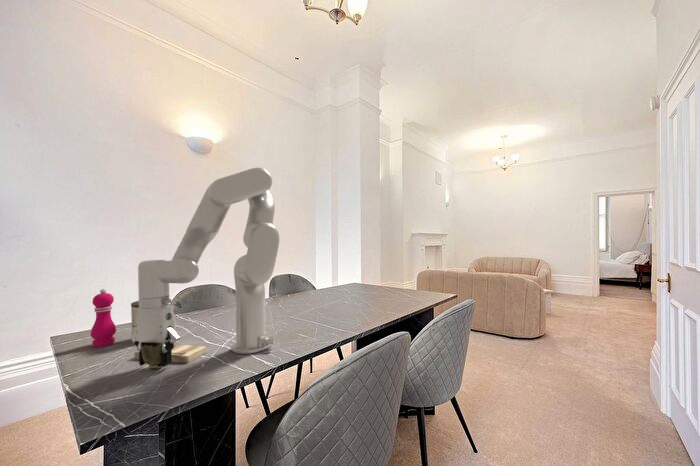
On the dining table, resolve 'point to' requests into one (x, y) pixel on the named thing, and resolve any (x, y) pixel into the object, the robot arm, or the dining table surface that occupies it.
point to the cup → (152, 354)
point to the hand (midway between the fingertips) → (155, 363)
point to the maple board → (184, 353)
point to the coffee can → (134, 315)
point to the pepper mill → (103, 320)
